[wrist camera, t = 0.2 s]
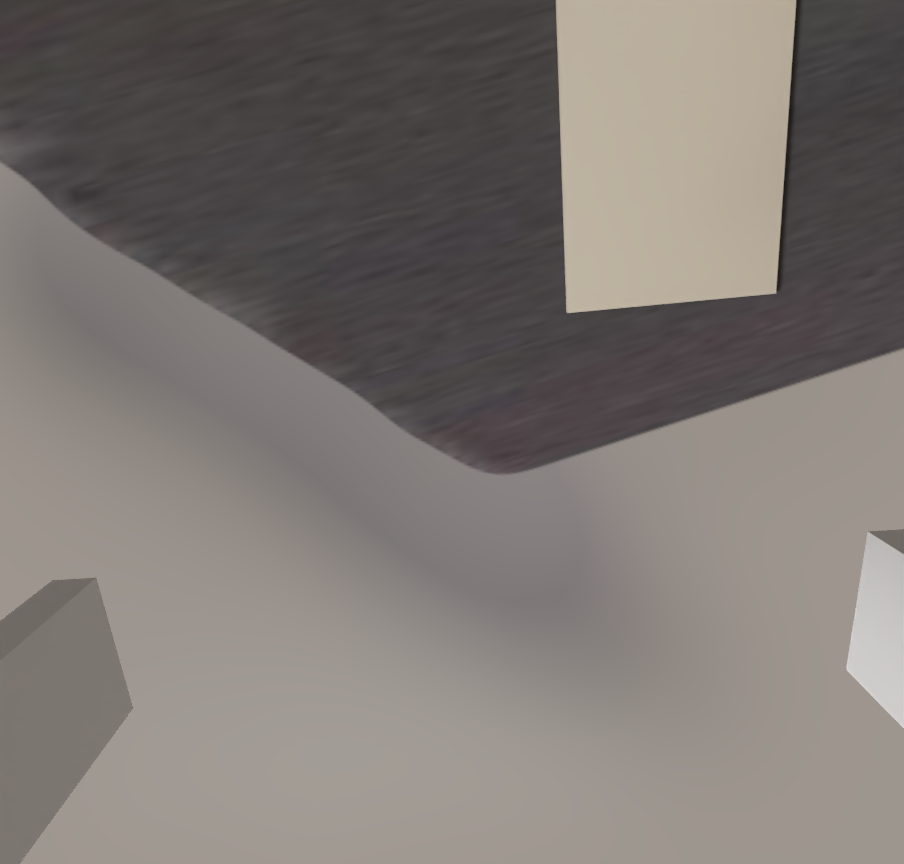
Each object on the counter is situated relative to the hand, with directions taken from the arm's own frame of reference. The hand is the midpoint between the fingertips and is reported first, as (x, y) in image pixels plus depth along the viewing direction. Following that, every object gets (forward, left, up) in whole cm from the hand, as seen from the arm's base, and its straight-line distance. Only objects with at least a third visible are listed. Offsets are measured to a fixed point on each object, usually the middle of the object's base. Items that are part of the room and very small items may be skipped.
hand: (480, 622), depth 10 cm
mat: (-12, +14, -28) cm, 33 cm away
